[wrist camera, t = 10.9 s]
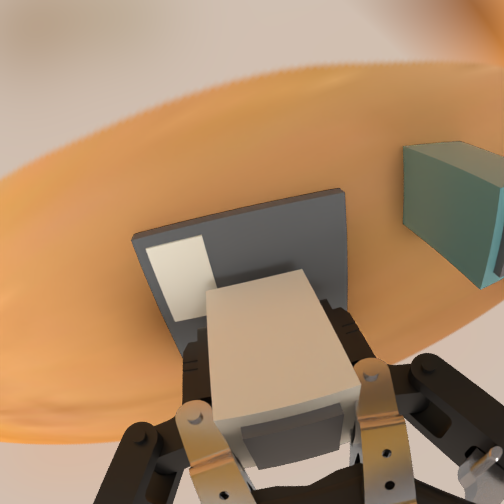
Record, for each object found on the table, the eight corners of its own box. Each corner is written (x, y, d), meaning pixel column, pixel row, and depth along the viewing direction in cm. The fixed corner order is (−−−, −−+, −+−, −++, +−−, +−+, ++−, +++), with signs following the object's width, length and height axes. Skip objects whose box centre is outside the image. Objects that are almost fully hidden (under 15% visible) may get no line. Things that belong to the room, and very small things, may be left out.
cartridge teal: (459, 141, 12) (556, 181, 7) (456, 210, 14) (537, 267, 9) (402, 146, 12) (509, 192, 7) (402, 223, 14) (486, 295, 9)
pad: (339, 188, 13) (345, 192, 12) (342, 335, 17) (346, 343, 17) (133, 234, 12) (130, 241, 12) (193, 370, 17) (193, 379, 16)
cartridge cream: (301, 268, 12) (366, 395, 7) (308, 336, 14) (353, 450, 9) (205, 291, 12) (214, 433, 7) (227, 355, 14) (244, 477, 9)
